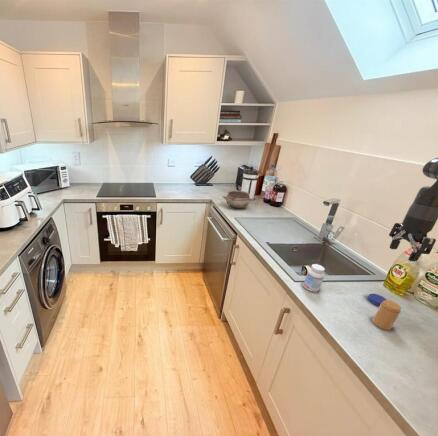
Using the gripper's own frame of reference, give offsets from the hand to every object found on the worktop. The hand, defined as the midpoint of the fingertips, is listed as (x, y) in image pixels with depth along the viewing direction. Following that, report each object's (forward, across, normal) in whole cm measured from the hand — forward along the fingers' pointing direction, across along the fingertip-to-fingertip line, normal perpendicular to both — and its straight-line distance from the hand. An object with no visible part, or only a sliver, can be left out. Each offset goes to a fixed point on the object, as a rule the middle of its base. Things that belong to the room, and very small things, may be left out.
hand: (402, 254), depth 90 cm
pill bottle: (+22, -4, -25) cm, 34 cm away
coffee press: (+22, -129, -24) cm, 133 cm away
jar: (+22, +14, -9) cm, 28 cm away
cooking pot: (+22, -105, -36) cm, 113 cm away
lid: (+21, +2, -2) cm, 21 cm away
